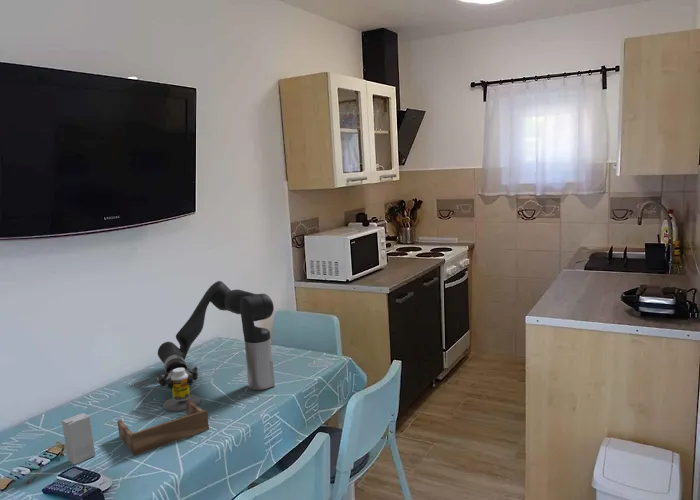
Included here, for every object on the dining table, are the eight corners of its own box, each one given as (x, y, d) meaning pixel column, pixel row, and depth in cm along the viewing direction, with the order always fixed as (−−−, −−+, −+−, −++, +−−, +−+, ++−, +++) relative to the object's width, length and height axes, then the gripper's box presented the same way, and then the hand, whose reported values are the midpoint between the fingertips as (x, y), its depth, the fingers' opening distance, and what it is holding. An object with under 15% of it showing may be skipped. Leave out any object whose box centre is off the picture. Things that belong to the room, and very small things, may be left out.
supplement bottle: (173, 403, 184) (169, 373, 183) (172, 396, 189) (169, 368, 188) (190, 400, 186) (187, 370, 184) (189, 393, 191) (186, 365, 190)
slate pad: (201, 394, 195) (201, 392, 195) (199, 408, 183) (199, 406, 183) (165, 399, 192) (165, 397, 192) (161, 414, 181) (161, 411, 181)
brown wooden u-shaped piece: (119, 436, 167) (116, 417, 166) (190, 413, 180) (188, 396, 179) (134, 455, 155) (132, 435, 154) (209, 429, 168) (207, 410, 167)
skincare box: (88, 451, 158) (83, 411, 157) (96, 456, 155) (90, 415, 154) (66, 461, 154) (60, 419, 152) (73, 466, 151) (68, 424, 149)
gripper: (197, 374, 203) (203, 390, 188) (155, 381, 198) (159, 399, 182) (195, 354, 202) (201, 369, 186) (153, 361, 196) (156, 377, 181)
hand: (180, 384), depth 184 cm, fingers closed on supplement bottle, 5 cm apart
